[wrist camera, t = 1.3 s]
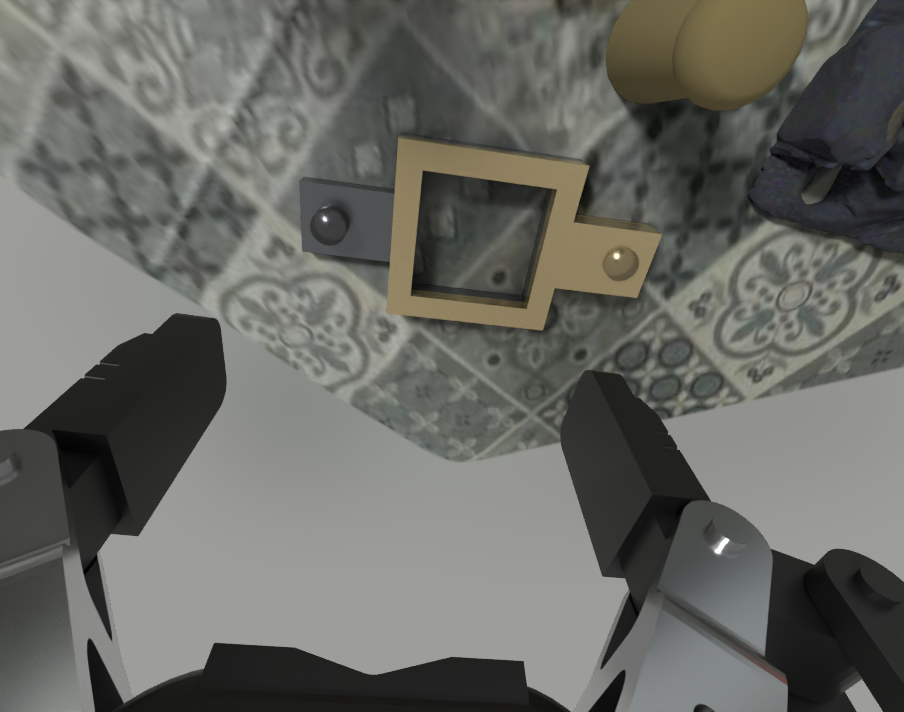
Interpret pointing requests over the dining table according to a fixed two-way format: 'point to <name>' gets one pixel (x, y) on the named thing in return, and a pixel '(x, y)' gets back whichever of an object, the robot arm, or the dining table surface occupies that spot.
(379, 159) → the dining table surface
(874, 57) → the crumpled black pouch
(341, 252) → the chain end
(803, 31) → the brown rounded peg
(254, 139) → the dining table surface
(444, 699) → the robot arm
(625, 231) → the chain end
